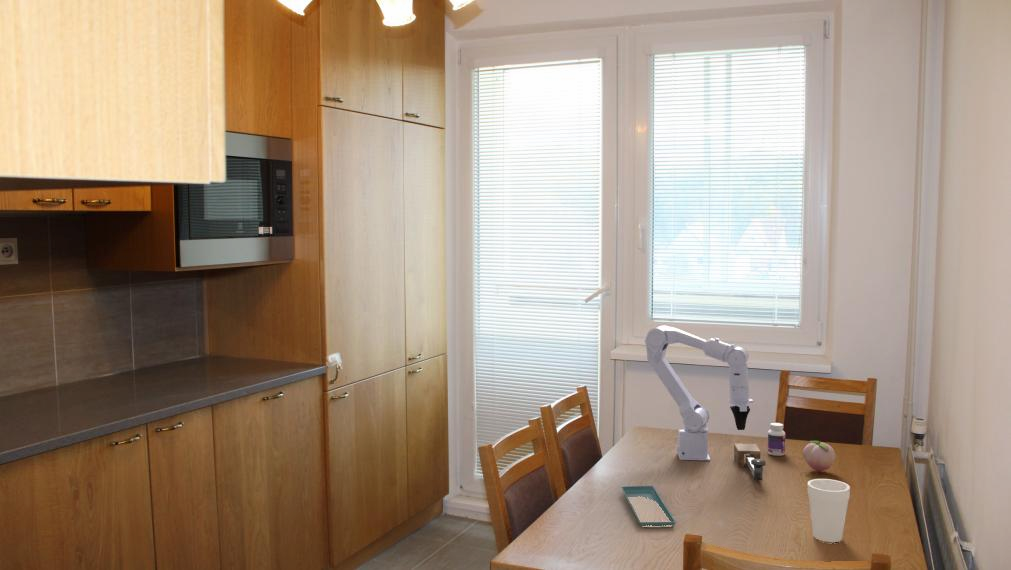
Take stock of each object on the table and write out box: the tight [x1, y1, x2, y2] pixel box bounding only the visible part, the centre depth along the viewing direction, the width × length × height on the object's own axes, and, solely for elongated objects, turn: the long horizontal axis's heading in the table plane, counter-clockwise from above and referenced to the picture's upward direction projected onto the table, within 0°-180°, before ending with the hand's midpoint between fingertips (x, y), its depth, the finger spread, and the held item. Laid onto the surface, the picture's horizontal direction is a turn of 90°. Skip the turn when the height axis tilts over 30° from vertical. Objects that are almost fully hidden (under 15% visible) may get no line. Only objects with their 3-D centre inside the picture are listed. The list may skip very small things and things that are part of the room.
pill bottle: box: [767, 422, 786, 457], centre depth 263 cm, size 5×5×10 cm
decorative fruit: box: [802, 439, 836, 473], centre depth 244 cm, size 9×8×10 cm
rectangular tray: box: [621, 485, 677, 526], centre depth 215 cm, size 26×9×2 cm, turn 2°
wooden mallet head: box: [733, 443, 761, 468], centre depth 254 cm, size 7×8×5 cm
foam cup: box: [806, 478, 851, 542], centre depth 194 cm, size 10×9×13 cm
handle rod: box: [745, 454, 767, 482], centre depth 241 cm, size 4×18×6 cm, turn 173°
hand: (740, 429), depth 254 cm, fingers closed
